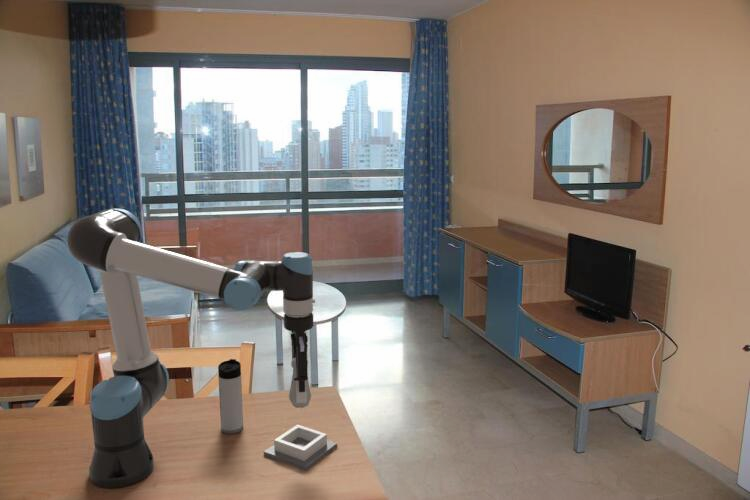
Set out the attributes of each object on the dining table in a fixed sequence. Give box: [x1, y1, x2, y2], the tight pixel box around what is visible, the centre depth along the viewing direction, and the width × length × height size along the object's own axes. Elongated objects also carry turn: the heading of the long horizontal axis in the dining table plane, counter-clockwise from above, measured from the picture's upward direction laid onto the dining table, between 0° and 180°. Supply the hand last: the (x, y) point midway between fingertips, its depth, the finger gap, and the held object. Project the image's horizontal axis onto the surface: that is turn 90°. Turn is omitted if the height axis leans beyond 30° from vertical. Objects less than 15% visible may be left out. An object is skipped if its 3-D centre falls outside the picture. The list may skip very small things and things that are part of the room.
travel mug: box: [217, 358, 244, 435], centre depth 182 cm, size 6×7×20 cm
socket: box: [263, 424, 338, 471], centre depth 172 cm, size 14×14×4 cm
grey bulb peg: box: [288, 357, 312, 409], centre depth 168 cm, size 6×6×13 cm
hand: (300, 396), depth 169 cm, fingers closed on grey bulb peg, 6 cm apart
